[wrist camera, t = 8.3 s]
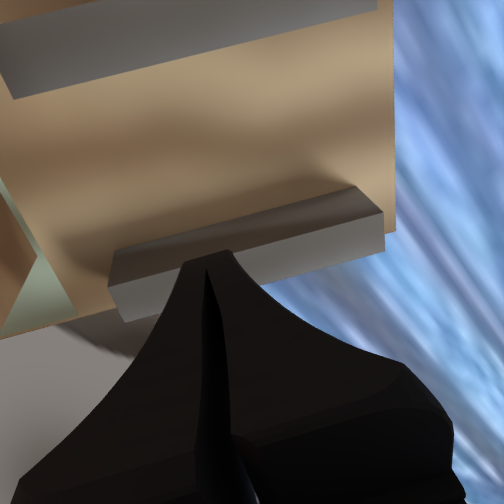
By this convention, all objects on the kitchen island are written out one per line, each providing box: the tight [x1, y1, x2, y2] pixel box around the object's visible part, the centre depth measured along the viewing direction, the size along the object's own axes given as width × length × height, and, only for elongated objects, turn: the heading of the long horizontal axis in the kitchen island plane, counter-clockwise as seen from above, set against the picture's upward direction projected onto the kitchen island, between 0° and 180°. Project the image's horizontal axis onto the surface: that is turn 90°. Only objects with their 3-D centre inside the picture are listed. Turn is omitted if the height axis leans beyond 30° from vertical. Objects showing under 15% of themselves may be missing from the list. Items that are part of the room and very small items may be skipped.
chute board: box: [0, 0, 396, 340], centre depth 17 cm, size 14×24×4 cm, turn 102°
